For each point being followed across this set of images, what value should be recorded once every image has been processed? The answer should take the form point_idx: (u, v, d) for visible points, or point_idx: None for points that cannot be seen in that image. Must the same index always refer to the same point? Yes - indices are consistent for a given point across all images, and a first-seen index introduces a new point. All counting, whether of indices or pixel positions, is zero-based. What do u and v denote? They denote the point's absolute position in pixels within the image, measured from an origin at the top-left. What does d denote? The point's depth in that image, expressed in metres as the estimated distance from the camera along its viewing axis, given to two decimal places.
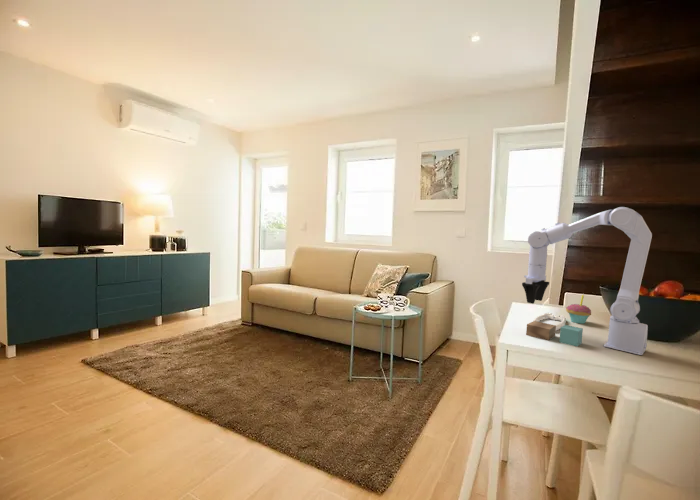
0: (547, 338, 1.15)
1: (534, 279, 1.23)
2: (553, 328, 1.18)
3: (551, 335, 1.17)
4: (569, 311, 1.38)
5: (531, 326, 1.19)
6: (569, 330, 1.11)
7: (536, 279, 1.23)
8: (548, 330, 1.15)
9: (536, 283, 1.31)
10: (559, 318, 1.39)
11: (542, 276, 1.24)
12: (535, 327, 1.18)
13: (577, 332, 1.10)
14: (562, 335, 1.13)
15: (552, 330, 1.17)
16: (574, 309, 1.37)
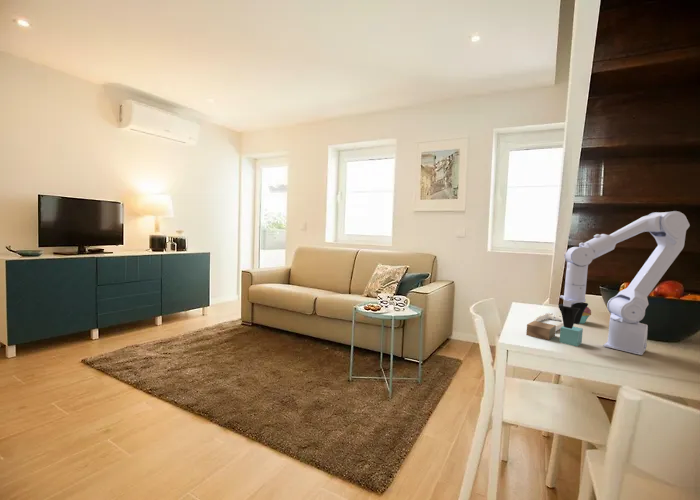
0: (547, 338, 1.15)
1: (573, 302, 1.08)
2: (553, 328, 1.18)
3: (551, 335, 1.17)
4: None
5: (531, 326, 1.19)
6: (569, 330, 1.11)
7: (575, 301, 1.08)
8: (548, 330, 1.15)
9: (573, 304, 1.16)
10: (560, 318, 1.39)
11: (582, 298, 1.09)
12: (535, 327, 1.18)
13: (577, 332, 1.10)
14: (562, 335, 1.13)
15: (552, 330, 1.17)
16: None
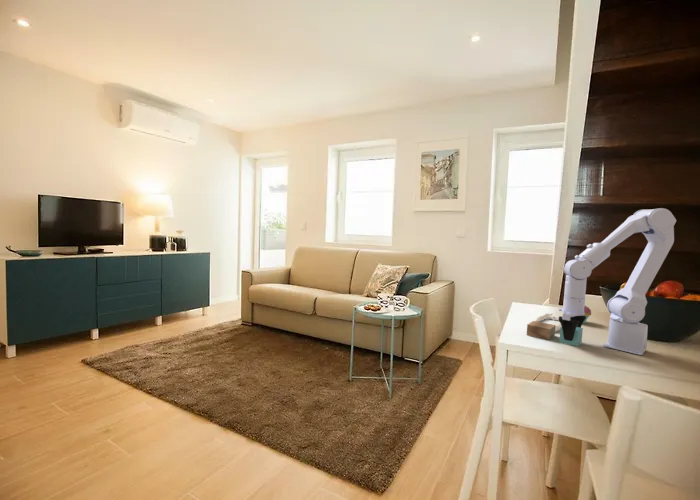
0: (548, 338, 1.15)
1: (572, 315, 1.08)
2: (553, 328, 1.18)
3: (551, 335, 1.17)
4: None
5: (531, 326, 1.18)
6: None
7: (574, 315, 1.08)
8: (549, 330, 1.15)
9: None
10: None
11: (581, 311, 1.10)
12: (536, 327, 1.18)
13: (577, 332, 1.10)
14: (562, 335, 1.13)
15: (552, 330, 1.17)
16: None
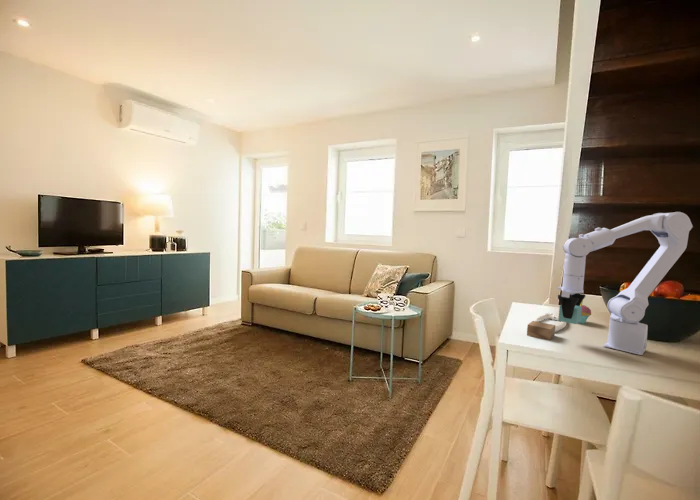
0: (548, 338, 1.15)
1: (572, 292, 1.08)
2: (553, 328, 1.18)
3: (552, 335, 1.17)
4: None
5: (532, 326, 1.18)
6: None
7: (574, 292, 1.08)
8: (549, 330, 1.15)
9: None
10: None
11: (580, 288, 1.10)
12: (536, 327, 1.18)
13: (576, 309, 1.10)
14: (561, 313, 1.13)
15: (552, 330, 1.17)
16: None
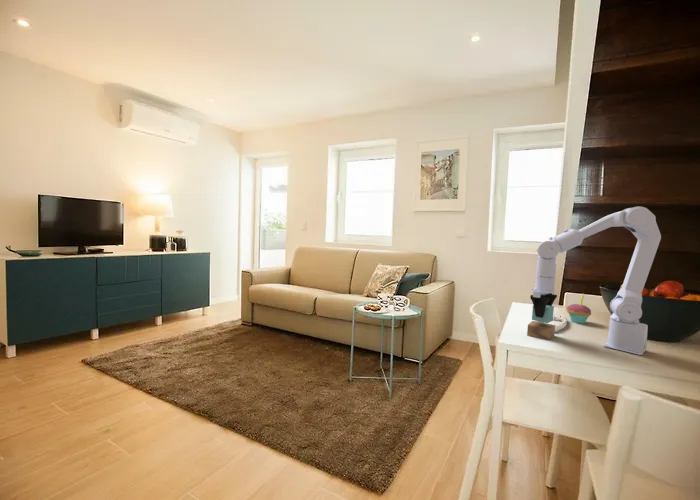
0: (549, 338, 1.15)
1: (542, 293, 1.14)
2: (553, 328, 1.18)
3: (552, 335, 1.17)
4: (569, 311, 1.38)
5: (532, 326, 1.18)
6: None
7: (544, 292, 1.14)
8: (550, 330, 1.15)
9: None
10: (560, 318, 1.39)
11: (551, 289, 1.16)
12: (536, 327, 1.17)
13: (548, 309, 1.16)
14: (534, 312, 1.19)
15: (552, 330, 1.17)
16: (574, 309, 1.37)
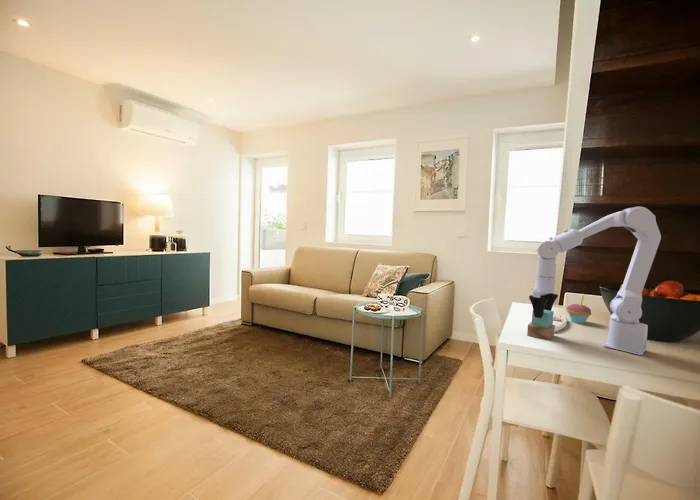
0: (549, 338, 1.15)
1: (542, 293, 1.14)
2: (553, 328, 1.18)
3: (552, 335, 1.17)
4: (569, 311, 1.38)
5: (532, 327, 1.18)
6: None
7: (544, 292, 1.14)
8: (550, 330, 1.15)
9: (544, 296, 1.22)
10: (560, 318, 1.39)
11: (551, 289, 1.16)
12: (536, 328, 1.17)
13: (547, 314, 1.16)
14: (534, 317, 1.19)
15: (552, 330, 1.17)
16: (574, 309, 1.37)
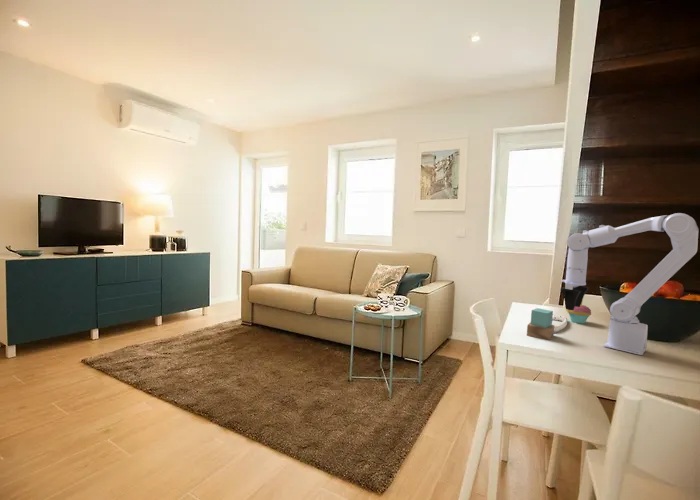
0: (548, 338, 1.15)
1: (575, 285, 1.14)
2: (552, 328, 1.18)
3: (551, 335, 1.17)
4: (569, 311, 1.38)
5: (532, 327, 1.18)
6: (539, 312, 1.18)
7: (577, 284, 1.15)
8: (549, 330, 1.15)
9: (574, 288, 1.22)
10: (560, 318, 1.39)
11: (582, 281, 1.16)
12: (536, 327, 1.18)
13: (546, 314, 1.16)
14: (533, 317, 1.19)
15: (552, 330, 1.18)
16: (574, 309, 1.37)
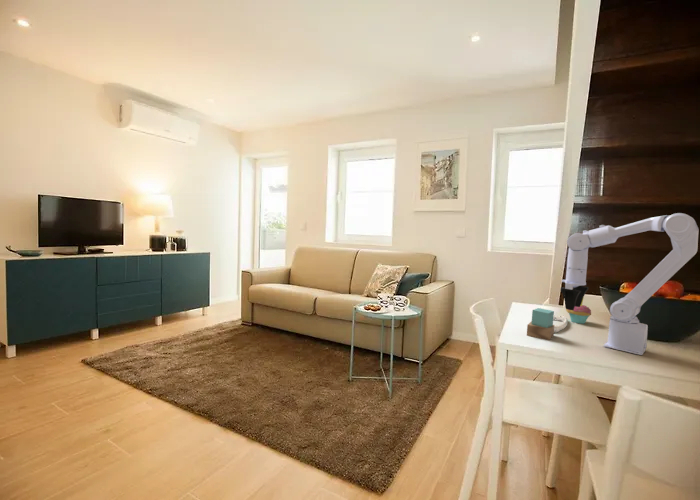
0: (548, 338, 1.15)
1: (575, 285, 1.14)
2: (552, 328, 1.18)
3: (551, 335, 1.17)
4: (569, 311, 1.38)
5: (532, 326, 1.18)
6: (540, 312, 1.18)
7: (577, 284, 1.15)
8: (549, 330, 1.15)
9: (574, 288, 1.22)
10: (561, 318, 1.39)
11: (582, 281, 1.16)
12: (536, 327, 1.18)
13: (547, 314, 1.16)
14: (534, 317, 1.19)
15: (552, 330, 1.18)
16: (574, 309, 1.37)
